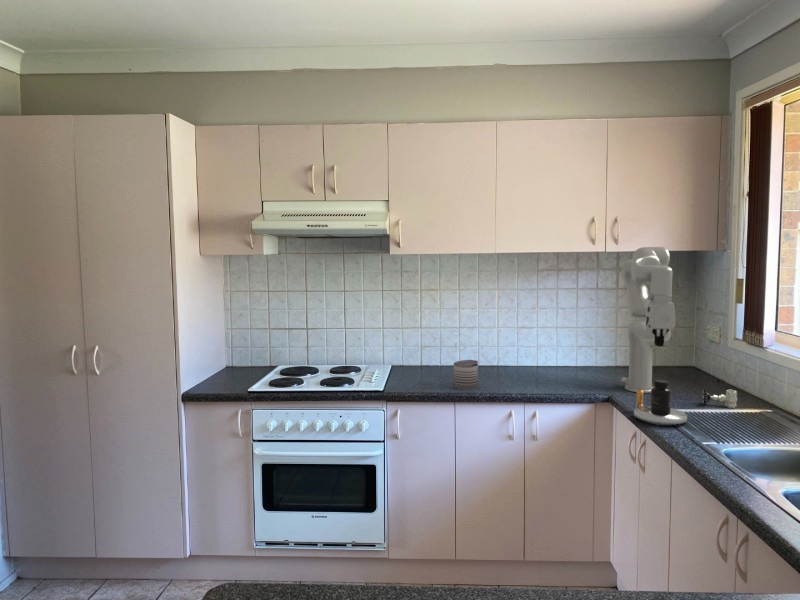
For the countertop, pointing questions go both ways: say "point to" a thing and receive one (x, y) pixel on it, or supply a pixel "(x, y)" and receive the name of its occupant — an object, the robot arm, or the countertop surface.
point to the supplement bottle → (661, 398)
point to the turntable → (647, 415)
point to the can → (466, 374)
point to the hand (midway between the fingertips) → (659, 345)
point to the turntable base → (657, 423)
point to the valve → (722, 398)
